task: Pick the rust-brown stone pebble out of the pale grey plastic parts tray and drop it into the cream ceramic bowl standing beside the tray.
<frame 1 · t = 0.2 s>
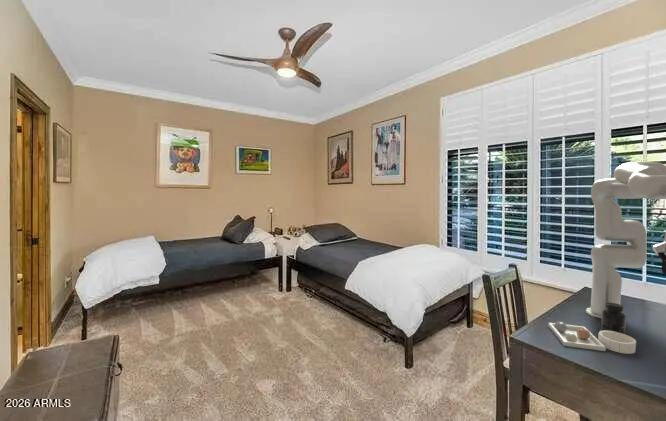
pebble c: (571, 342, 111), point 1 cm above the table, touching parts tray
bowl: (616, 347, 108), on the table
parts tray: (574, 339, 114), on the table
pebble a: (581, 338, 114), point 1 cm above the table, touching parts tray
supplement bottle: (612, 335, 117), on the table
pebble b: (560, 331, 119), point 1 cm above the table, touching parts tray
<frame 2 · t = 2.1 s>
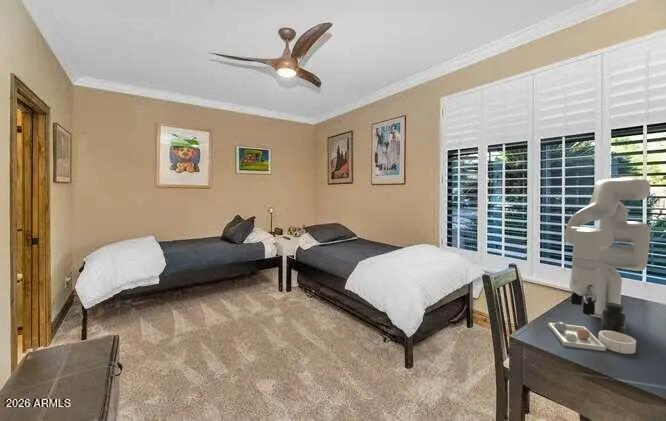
hand: (582, 309, 112), 12 cm above the table, fingers open, 9 cm apart
nothing on the table moved.
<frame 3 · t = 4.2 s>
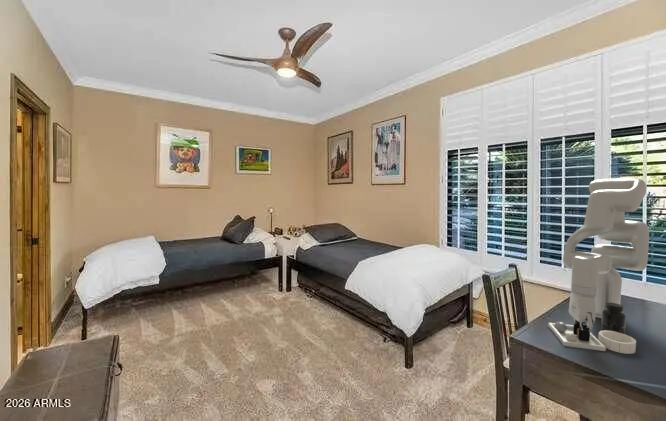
hand: (581, 337, 114), 1 cm above the table, fingers closed on pebble a, 3 cm apart
pebble a: (581, 338, 114), point 1 cm above the table, touching gripper, parts tray
everything else where it was.
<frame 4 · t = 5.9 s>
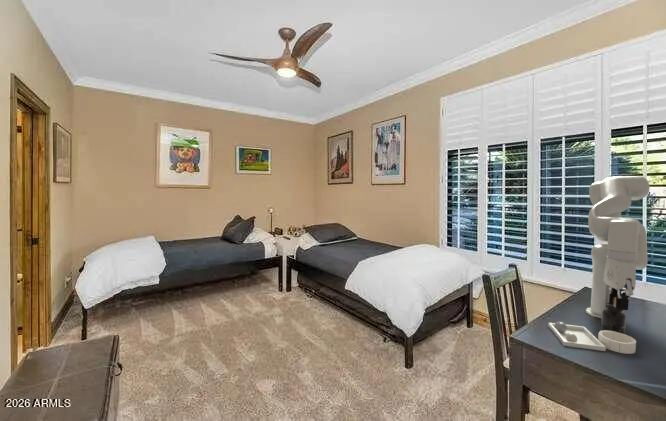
hand: (618, 306, 107), 15 cm above the table, fingers closed on pebble a, 3 cm apart
pebble a: (618, 307, 107), point 15 cm above the table, touching gripper
everything else where it was.
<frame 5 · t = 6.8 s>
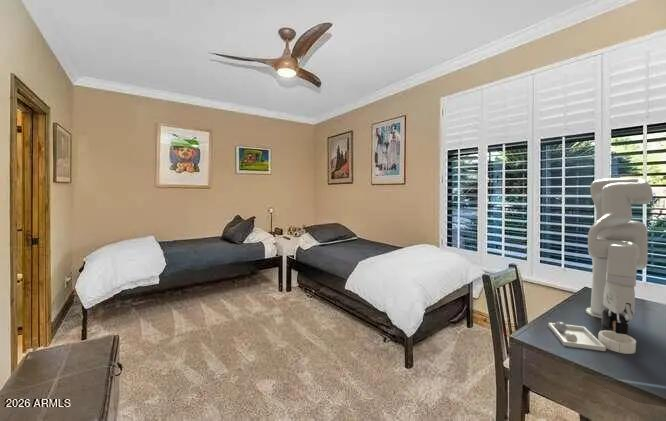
hand: (617, 330, 107), 7 cm above the table, fingers closed on pebble a, 3 cm apart
pebble a: (617, 331, 107), point 6 cm above the table, touching gripper
everything else where it was.
when the fingers open (4 cm above the table, at t = 7.7 s): pebble a drops 3 cm, resting on bowl.
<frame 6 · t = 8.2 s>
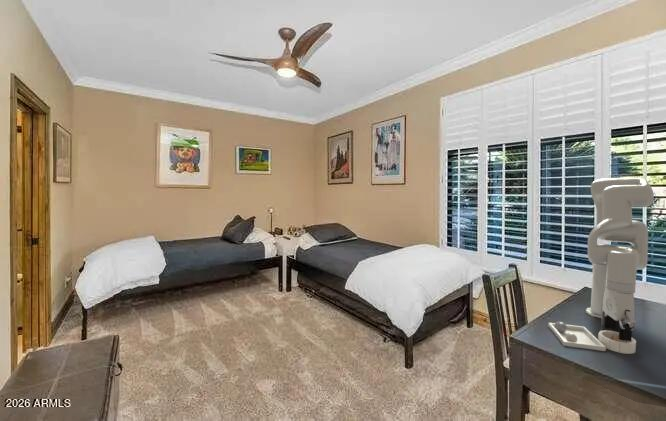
hand: (617, 333, 107), 5 cm above the table, fingers open, 8 cm apart
pebble a: (616, 345, 108), point 1 cm above the table, touching bowl
everything else where it was.
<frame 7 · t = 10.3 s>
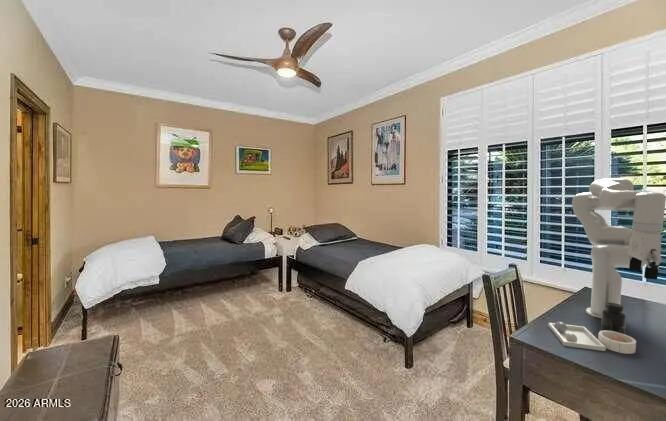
hand: (642, 274, 110), 25 cm above the table, fingers open, 9 cm apart
nothing on the table moved.
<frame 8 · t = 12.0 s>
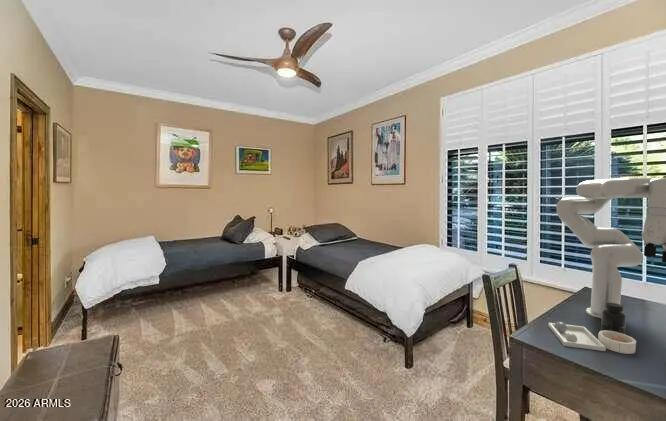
hand: (658, 259, 111), 30 cm above the table, fingers open, 9 cm apart
nothing on the table moved.
at the end: pebble a inside the target area on the bowl (0.0 cm from its centre), point 0.6 cm above the bowl's base; the gripper is holding nothing; pebble a point 0.6 cm above the table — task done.
